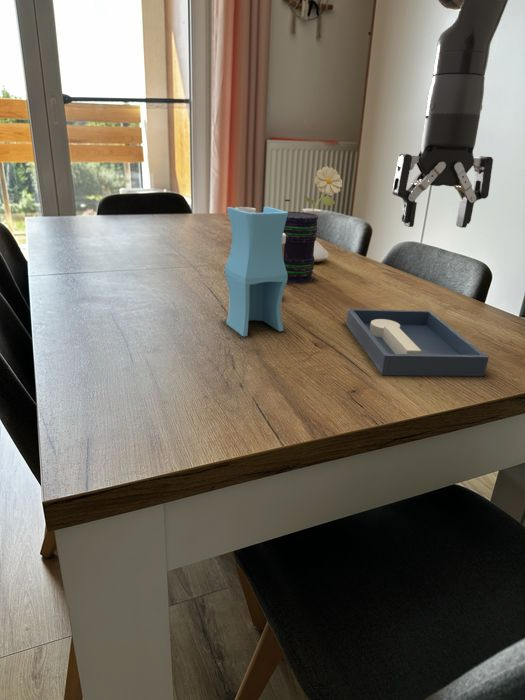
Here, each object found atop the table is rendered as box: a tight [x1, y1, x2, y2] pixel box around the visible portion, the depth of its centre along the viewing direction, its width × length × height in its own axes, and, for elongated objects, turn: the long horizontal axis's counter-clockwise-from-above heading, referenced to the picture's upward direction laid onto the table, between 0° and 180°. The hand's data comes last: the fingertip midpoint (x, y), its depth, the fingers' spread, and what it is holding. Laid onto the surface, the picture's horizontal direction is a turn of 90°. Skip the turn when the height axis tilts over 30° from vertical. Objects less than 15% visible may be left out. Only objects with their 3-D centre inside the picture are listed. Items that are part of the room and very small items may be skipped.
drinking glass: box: [234, 206, 257, 213], centre depth 165 cm, size 7×7×10 cm
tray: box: [345, 308, 489, 377], centre depth 84 cm, size 16×22×3 cm
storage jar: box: [283, 198, 319, 284], centre depth 121 cm, size 10×10×18 cm
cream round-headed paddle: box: [370, 319, 421, 354], centre depth 83 cm, size 16×5×2 cm, turn 5°
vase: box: [224, 206, 289, 337], centre depth 87 cm, size 8×8×20 cm
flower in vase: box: [302, 165, 343, 263], centre depth 138 cm, size 13×11×25 cm
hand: (434, 226), depth 80 cm, fingers open, 8 cm apart
